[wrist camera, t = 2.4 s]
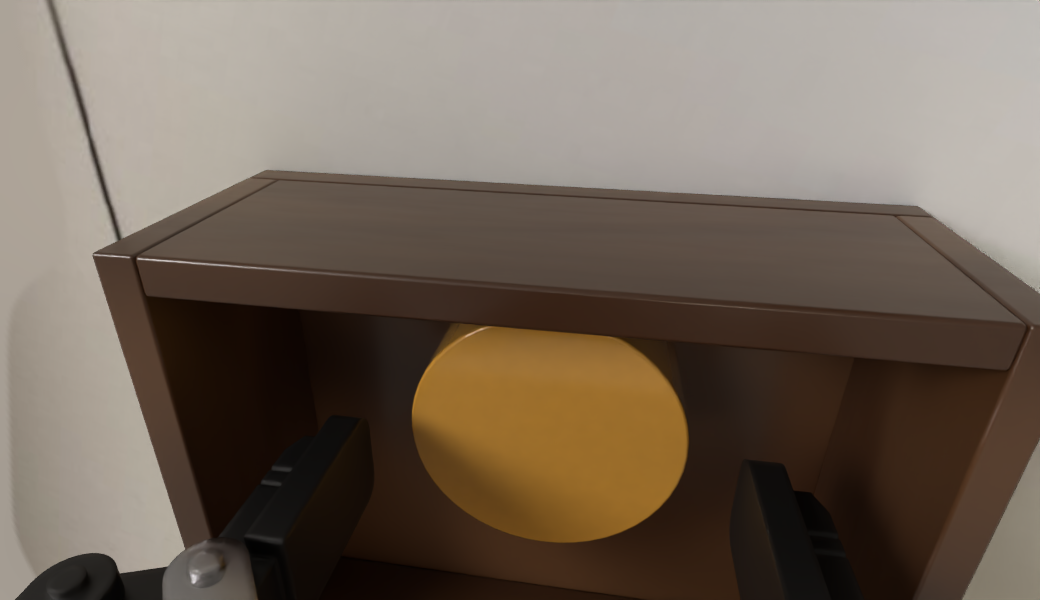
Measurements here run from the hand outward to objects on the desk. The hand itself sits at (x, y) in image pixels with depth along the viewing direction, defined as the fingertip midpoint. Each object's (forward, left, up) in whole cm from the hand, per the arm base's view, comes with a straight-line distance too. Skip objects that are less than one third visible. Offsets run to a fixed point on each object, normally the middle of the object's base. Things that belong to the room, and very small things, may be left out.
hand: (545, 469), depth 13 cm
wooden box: (+2, 0, -4) cm, 5 cm away
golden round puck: (0, 0, -3) cm, 3 cm away
